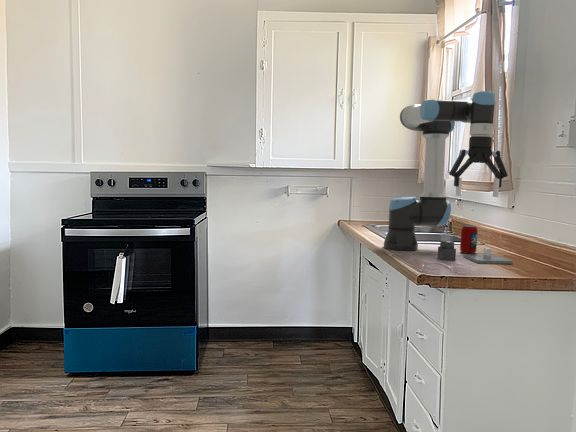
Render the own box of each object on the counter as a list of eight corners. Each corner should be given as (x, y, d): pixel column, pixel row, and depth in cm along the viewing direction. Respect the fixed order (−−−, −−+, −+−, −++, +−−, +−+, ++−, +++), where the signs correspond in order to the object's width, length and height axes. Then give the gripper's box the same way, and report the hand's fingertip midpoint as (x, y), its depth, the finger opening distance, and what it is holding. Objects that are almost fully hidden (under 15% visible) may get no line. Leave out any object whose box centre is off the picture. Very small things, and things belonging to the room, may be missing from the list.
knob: (437, 257, 207) (438, 240, 206) (450, 257, 207) (451, 240, 206) (442, 259, 201) (443, 241, 201) (455, 260, 202) (456, 242, 201)
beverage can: (476, 254, 218) (478, 226, 217) (459, 253, 220) (461, 225, 219) (475, 252, 224) (477, 225, 223) (459, 250, 226) (461, 224, 225)
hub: (463, 257, 210) (463, 245, 209) (495, 257, 210) (496, 245, 210) (477, 263, 196) (478, 250, 195) (512, 264, 196) (513, 251, 196)
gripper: (450, 134, 173) (446, 196, 175) (520, 136, 174) (516, 198, 177) (442, 135, 181) (438, 194, 183) (510, 138, 182) (505, 196, 184)
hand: (476, 196), depth 180 cm, fingers open, 13 cm apart
